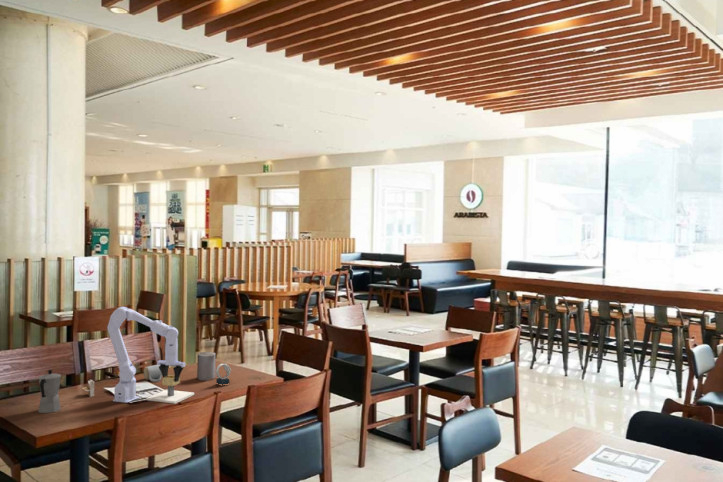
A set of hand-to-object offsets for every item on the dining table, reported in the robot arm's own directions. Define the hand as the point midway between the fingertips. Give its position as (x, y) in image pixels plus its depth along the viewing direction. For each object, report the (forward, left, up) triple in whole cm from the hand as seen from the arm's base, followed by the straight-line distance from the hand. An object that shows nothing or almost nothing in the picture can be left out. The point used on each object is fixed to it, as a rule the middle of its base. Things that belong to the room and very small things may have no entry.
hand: (171, 380), depth 282 cm
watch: (+30, -11, -8) cm, 33 cm away
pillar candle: (+38, +4, -8) cm, 39 cm away
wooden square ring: (0, 0, -2) cm, 2 cm away
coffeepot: (-37, +37, -8) cm, 53 cm away
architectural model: (-11, +38, -9) cm, 41 cm away
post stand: (0, 0, -8) cm, 8 cm away
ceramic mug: (+25, +28, -8) cm, 39 cm away
